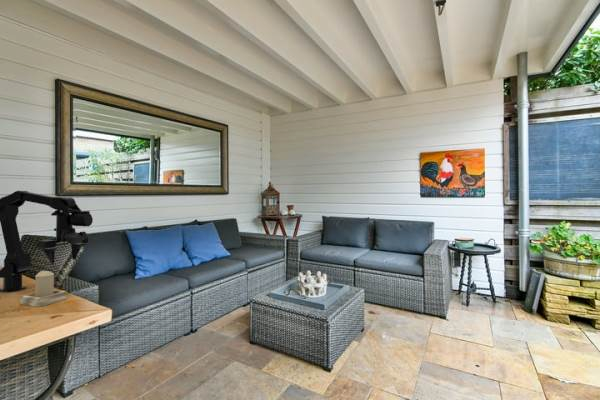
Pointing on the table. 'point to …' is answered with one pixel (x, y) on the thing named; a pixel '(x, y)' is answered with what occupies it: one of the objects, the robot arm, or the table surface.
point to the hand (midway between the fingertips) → (63, 261)
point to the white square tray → (43, 299)
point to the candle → (44, 284)
